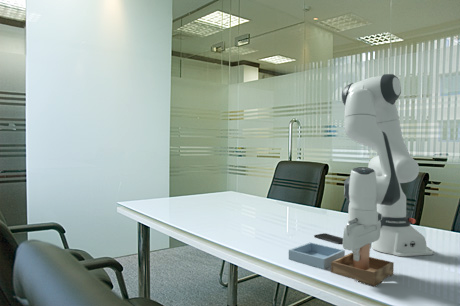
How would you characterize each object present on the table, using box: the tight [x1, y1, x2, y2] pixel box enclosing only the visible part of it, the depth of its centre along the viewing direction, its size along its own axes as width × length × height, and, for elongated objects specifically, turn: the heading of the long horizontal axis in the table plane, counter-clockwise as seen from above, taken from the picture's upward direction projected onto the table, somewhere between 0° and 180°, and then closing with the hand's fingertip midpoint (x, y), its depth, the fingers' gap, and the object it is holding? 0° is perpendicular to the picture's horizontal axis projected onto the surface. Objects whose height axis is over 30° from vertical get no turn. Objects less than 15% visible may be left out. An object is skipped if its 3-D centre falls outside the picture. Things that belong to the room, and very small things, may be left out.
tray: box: [330, 252, 395, 287], centre depth 116 cm, size 15×15×4 cm
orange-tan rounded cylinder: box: [353, 244, 371, 270], centre depth 116 cm, size 5×5×8 cm
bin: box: [288, 242, 346, 270], centre depth 129 cm, size 15×15×4 cm
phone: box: [313, 233, 343, 245], centre depth 159 cm, size 8×1×15 cm
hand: (361, 258), depth 116 cm, fingers closed on orange-tan rounded cylinder, 5 cm apart
